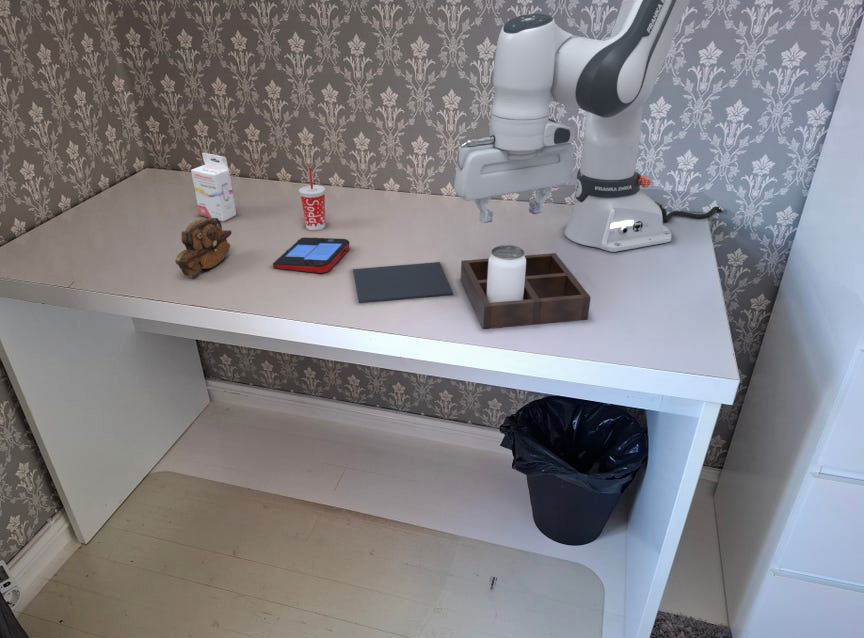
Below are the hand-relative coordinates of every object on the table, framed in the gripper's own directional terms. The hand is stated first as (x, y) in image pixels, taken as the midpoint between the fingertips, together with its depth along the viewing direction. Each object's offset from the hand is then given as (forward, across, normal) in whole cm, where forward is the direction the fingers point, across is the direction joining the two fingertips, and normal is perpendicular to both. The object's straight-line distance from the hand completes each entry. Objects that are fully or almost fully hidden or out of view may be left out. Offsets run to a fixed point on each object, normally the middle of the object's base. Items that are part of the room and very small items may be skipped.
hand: (510, 217), depth 113 cm
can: (+18, 0, 0) cm, 18 cm away
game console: (+19, -24, +38) cm, 49 cm away
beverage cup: (+19, -18, +55) cm, 61 cm away
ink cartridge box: (+20, -38, +73) cm, 85 cm away
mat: (+19, -12, +19) cm, 29 cm away
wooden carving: (+20, -45, +44) cm, 66 cm away
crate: (+18, +6, +3) cm, 19 cm away
